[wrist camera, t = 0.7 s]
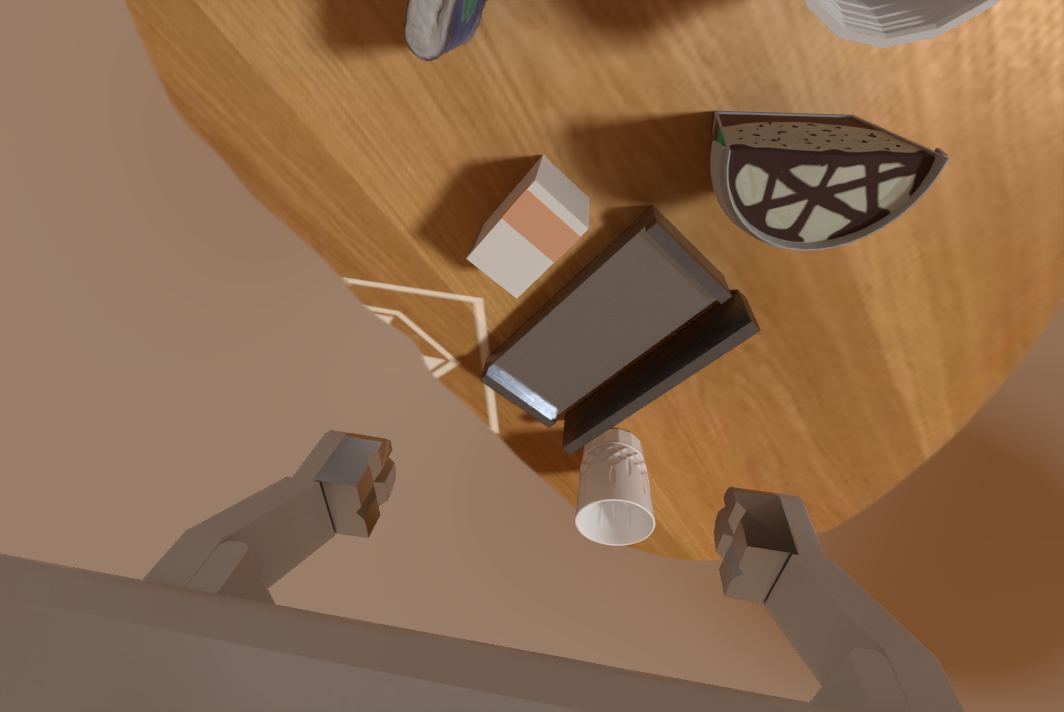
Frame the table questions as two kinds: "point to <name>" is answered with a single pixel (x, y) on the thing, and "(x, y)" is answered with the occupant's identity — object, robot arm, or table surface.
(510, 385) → the dark grey tray
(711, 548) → the table surface
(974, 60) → the table surface
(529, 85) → the table surface
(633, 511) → the white cup
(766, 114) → the food container
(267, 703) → the robot arm
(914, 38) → the plastic cup
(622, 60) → the table surface
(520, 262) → the block
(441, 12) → the flask
